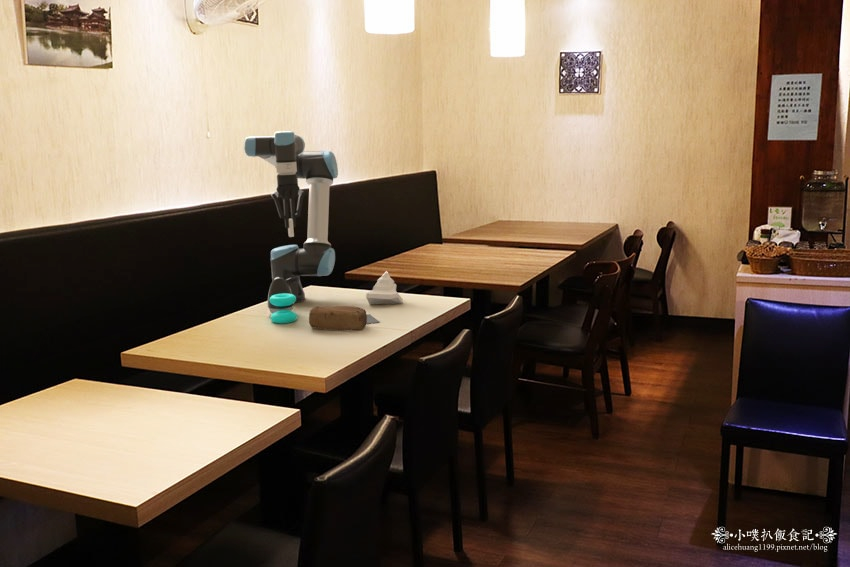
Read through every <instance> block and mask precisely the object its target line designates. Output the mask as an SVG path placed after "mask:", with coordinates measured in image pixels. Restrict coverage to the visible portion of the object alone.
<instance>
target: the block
mask: <svg viewBox="0 0 850 567" xmlns="http://www.w3.org/2000/svg"><path fill="white" fill-rule="evenodd" d="M366 314H367V311H366V309H365V308H363V307H358V306H351V305H350V306H348V305H329V306H328V305H326V306H325V305H319V306H313V307H312V308H310V310H309V315H308V323H309V325H310V326H309V327H310V328H312V329H316V330H329V331H362V330H364V329H365V328H366V326H367V325H368V324H367V315H366Z"/></svg>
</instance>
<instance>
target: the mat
mask: <svg viewBox="0 0 850 567" xmlns="http://www.w3.org/2000/svg"><path fill="white" fill-rule="evenodd" d="M366 315H367V324H366V325H371V323H373V324H380V323H379V322H380V320H378V319H377V318H376V317H374V316H373V315H371V314H370V313H368V314H367V313H366Z"/></svg>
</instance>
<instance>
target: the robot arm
mask: <svg viewBox="0 0 850 567" xmlns="http://www.w3.org/2000/svg"><path fill="white" fill-rule="evenodd" d="M243 147H244V153H245V155H246V156H248V157H254V158H256V157H259V158H261V159H263V160H264V161H265V162H268V163H269V164H271V165H272V166H274V167H275V169H276V173H277V175H276V180H277V187H276V190H275V191H274V192H272V193H270V196H271V198H272V199H273V201H274V204H275V206H276V210H277V213H278V216H279V218H280V219H283V220H284V227H285V228H286V229H287V233H288V237H289V238H292V237H293V238H294V237H295V232H294V228H297V223H296V219H298V218H300V217H301V215H302V207H303V201H304V197H305V195H306V191H304V190H302V189H301V188H300V186H299V183H298V182H299V180H298V179H302V180H303V179H305V182H306V184H307V185H308V186H309V187H308V190H309V191H308V210H307V214H308V215H307V239H306V241H304V243H303V245H302V246H303V248H299V246H298V244H288V245H282V246H278V247H275V248H273V249H272V250H271V251H270V268H271V280H272V281H273V280H274V279H275V278H276V277H283V278H284V279H285V280H287V279H289V278H292V280H291V281H290V282H288V285H289V287H290V289H291V292H292V294H293V295H295V297H296V301H295V302H294V304H295V303H299V302H303V301H304V300H306V295H305V291H304V288H303V286H302V283H301V278H300V277H308V276H309V277H322V276H325V277H326V276H329V275H330V274H332V272H333V269H334V266H335V262H336V251H335V249H334V248H332V244H331V243H330V242H329V241H328V236H329V214H330V212H329V207H330V187H331V186H332V185H333V184H334V179H337V178H338V175H339V170H338V163H337V158H336V156H335V154H334V153H333V152H332V151H331V150H310V151H309V150H306V151H305V147H306V143H305V141H304V138H303V137H301V136H300V135H297V134H295V132H294V131H292V130H291V131H290V130H288V131H287V130H286V131H285V130H283V131H275V132H274V134H273V135H270V136H269V135H267V136H265V135H264V136H263V135H262V136H257V135H256V136H255V135H254V136H247V137H246V138H245V140H244V145H243ZM297 195H298V198H297V205H296V204H295V201H296V197H297ZM279 196H280V197H281V198H282V204H283V206H281V203H280V200H279V198H278V197H279ZM289 206H290V215H289ZM282 207H283V209H282ZM272 281H271V282H272Z"/></svg>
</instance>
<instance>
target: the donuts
mask: <svg viewBox="0 0 850 567" xmlns="http://www.w3.org/2000/svg"><path fill="white" fill-rule="evenodd" d="M269 301H270V303H271V304H272V305H275V306H288V305H291V304H293V303H294V302H295V301H296V297H295V295H293V294H288V293H283V294H276V295H273V296H271V297H270V299H269ZM295 303H296V302H295ZM295 303H294V304H295ZM297 319H298V314H297V313H296V312H294V311H293V310H292V311H289V310H282V311H277V312H275V313H273V314H272V313H271V315H270V320H271V322H273V323H274V322H275V323H274V324H289V322H290V323H293V322H295V321H296V320H297Z"/></svg>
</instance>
